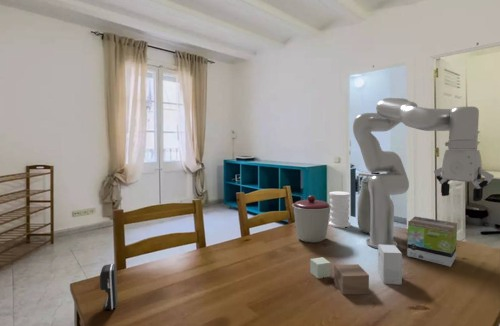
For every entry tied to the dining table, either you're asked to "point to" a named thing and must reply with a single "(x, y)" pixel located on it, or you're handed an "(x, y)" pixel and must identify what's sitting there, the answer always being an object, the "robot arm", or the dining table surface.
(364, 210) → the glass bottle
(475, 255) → the dining table surface
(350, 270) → the walnut block
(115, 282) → the battery charger
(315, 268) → the sage block
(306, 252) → the dining table surface
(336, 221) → the decorative container
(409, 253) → the tea box
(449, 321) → the dining table surface
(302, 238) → the canister
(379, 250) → the small box
